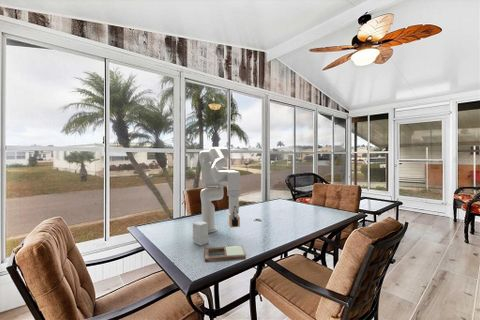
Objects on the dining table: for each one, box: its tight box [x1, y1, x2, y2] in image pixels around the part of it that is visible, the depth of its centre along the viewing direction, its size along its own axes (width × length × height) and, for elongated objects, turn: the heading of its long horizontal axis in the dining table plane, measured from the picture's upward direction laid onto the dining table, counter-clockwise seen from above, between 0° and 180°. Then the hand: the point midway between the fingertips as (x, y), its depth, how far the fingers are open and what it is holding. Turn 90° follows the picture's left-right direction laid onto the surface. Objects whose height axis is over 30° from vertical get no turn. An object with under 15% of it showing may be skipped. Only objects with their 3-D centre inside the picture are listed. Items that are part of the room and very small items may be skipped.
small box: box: [192, 220, 209, 247], centre depth 142 cm, size 8×6×13 cm
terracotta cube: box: [228, 214, 241, 228], centre depth 126 cm, size 6×6×6 cm
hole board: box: [204, 245, 247, 263], centre depth 126 cm, size 14×22×2 cm, turn 98°
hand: (234, 224), depth 126 cm, fingers closed on terracotta cube, 5 cm apart
